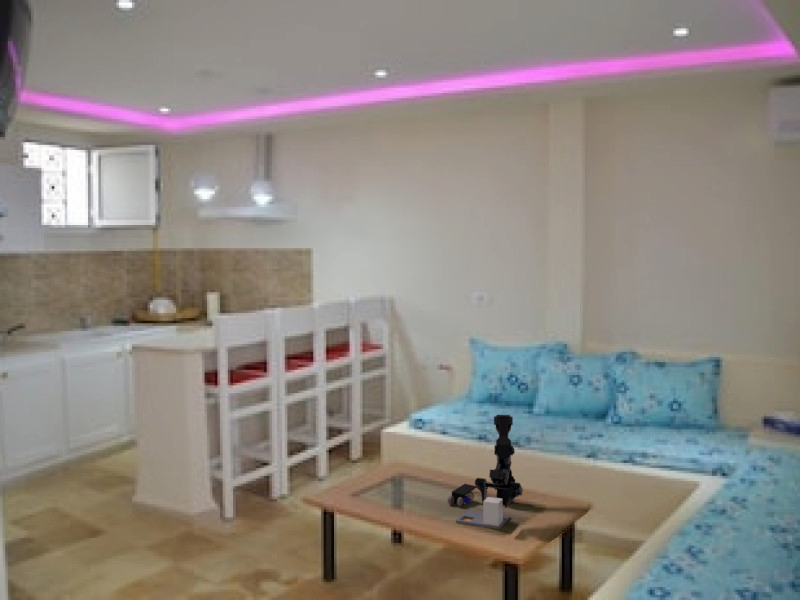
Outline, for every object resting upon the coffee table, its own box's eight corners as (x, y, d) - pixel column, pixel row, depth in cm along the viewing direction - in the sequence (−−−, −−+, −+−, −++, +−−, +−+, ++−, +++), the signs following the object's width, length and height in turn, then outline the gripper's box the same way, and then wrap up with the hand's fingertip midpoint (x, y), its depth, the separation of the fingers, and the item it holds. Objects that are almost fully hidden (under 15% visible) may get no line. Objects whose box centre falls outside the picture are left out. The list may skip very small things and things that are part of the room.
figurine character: (461, 514, 301) (478, 500, 313) (460, 497, 300) (477, 484, 312) (447, 512, 305) (464, 498, 317) (446, 495, 304) (463, 481, 316)
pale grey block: (488, 524, 284) (488, 496, 284) (502, 526, 282) (502, 498, 281) (483, 529, 279) (483, 501, 278) (498, 531, 276) (497, 503, 276)
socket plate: (468, 515, 296) (468, 509, 296) (509, 521, 288) (509, 515, 288) (455, 526, 283) (455, 520, 283) (499, 533, 276) (499, 526, 276)
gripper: (475, 458, 289) (466, 493, 280) (520, 463, 281) (512, 499, 272) (482, 471, 297) (473, 506, 287) (526, 477, 288) (518, 512, 279)
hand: (494, 505), depth 281 cm, fingers open, 9 cm apart
